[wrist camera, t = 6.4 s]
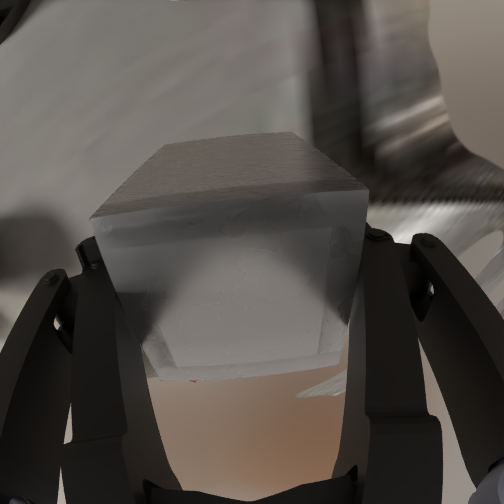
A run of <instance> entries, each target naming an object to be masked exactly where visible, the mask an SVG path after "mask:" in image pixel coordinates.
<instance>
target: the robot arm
mask: <svg viewBox="0 0 504 504" xmlns="http://www.w3.org/2000/svg"><path fill="white" fill-rule="evenodd" d="M29 2H30V0H0V43H1V42H2V41H3V40H4V39H5V38H6V37H7V35H8V34H9V33H10V32H11V30H12V29H13V28H14V26H15V25H16V24H17V22H18V21H19V19H20V18H21V16H22V14H23V13H24V11H25V9H26V8H27V6H28V4H29ZM75 250H76V253H77V255H78V258H79V260H80V263H81V265H82V267H83V270H82V274H80V275H77V276H74V277H70V278H68V276H67V274H66V272H65V270H63V269H56V270H51V271H49V272H47V273H46V275H44V276H43V277H42V278H41V279H40V281H39V282H38V284H37V285H36V287H35V289H34V290H33V292H32V294H31V295H30V297H29V299H28V300H27V302H26V304H25V306H24V307H23V309H22V311H21V313H20V315H19V316H18V318H17V320H16V322H15V324H14V326H13V328H12V330H11V332H10V334H9V336H8V338H7V340H6V342H5V344H4V346H3V348H2V350H1V353H0V504H57V500H58V490H59V477H60V468H61V471H62V480H63V487H64V493H65V499H66V504H441V503H442V502H441V501H442V485H443V446H442V445H443V443H442V430H441V424H440V421H439V420H438V418H437V417H436V416H433V415H430V414H429V413H428V411H427V404H426V394H425V384H424V375H423V368H422V361H421V355H420V348H419V342H418V339H419V341H420V343H421V345H422V347H423V350H424V352H425V354H426V356H427V359H428V361H429V363H430V366H431V368H432V371H433V373H434V375H435V378H436V380H437V383H438V385H439V388H440V391H441V393H442V396H443V399H444V401H445V404H446V407H447V410H448V412H449V415H450V418H451V421H452V424H453V427H454V430H455V433H456V437H457V440H458V443H459V447H460V450H461V454H462V457H463V460H464V463H465V466H466V469H467V471H468V473H469V475H470V478H471V480H472V482H473V484H474V485H475V487H476V489H477V490H476V492H475V493H473V494H472V496H471V497H470V499H469V502H468V504H504V319H503V318H502V316H501V315H500V313H499V312H498V311H497V309H496V308H495V306H494V305H493V304H492V302H491V301H490V300H489V298H488V297H487V295H486V294H485V293H484V291H483V290H482V289H481V287H480V286H479V285H478V284H477V282H476V281H475V280H474V279H473V277H472V276H471V275H470V274H469V272H468V271H467V270H466V269H465V267H464V266H463V265H462V264H461V263H460V262H459V260H458V259H457V258H456V257H455V256H454V255H453V253H452V252H451V251H450V250H449V249H448V248H447V247H446V246H445V245H444V243H443V242H442V241H441V240H439V239H438V238H437V237H435V236H433V235H431V234H428V233H418V234H415V235H413V238H412V242H411V244H402V243H395V242H394V240H393V238H392V236H391V235H390V234H389V233H387V232H386V231H383V230H380V229H375V228H371V227H370V225H369V224H368V223H367V222H366V225H365V233H364V240H363V247H362V254H361V260H360V266H359V272H358V277H357V283H356V288H355V294H354V299H353V304H352V308H351V313H350V324H349V326H350V327H349V354H348V370H347V384H346V396H345V407H344V416H343V424H342V433H341V440H340V447H339V453H338V457H337V460H336V463H335V466H334V470H333V474H332V478H331V479H328V480H323V481H319V482H314V483H308V484H302V485H299V486H297V487H294V488H292V489H289V490H287V491H283V492H281V493H278V494H275V495H272V496H269V497H266V498H262V499H259V500H256V501H251V502H250V501H248V502H247V501H240V500H235V499H230V498H225V497H220V496H215V495H211V494H207V493H203V492H199V491H183V490H182V487H181V485H180V483H179V481H178V479H177V478H176V476H175V474H174V473H173V471H172V470H171V467H170V465H169V463H168V460H167V457H166V453H165V450H164V446H163V443H162V440H161V436H160V433H159V429H158V425H157V422H156V418H155V415H154V410H153V406H152V402H151V398H150V394H149V389H148V384H147V379H146V374H145V369H144V364H143V359H142V353H141V348H140V342H139V340H138V338H137V336H136V334H135V332H134V330H133V328H132V326H131V324H130V321H129V319H128V317H127V315H126V313H125V311H124V309H123V306H122V304H121V302H120V300H119V297H118V295H117V293H116V290H115V288H114V286H113V283H112V281H111V278H110V276H109V273H108V271H107V268H106V266H105V263H104V260H103V258H102V255H101V252H100V250H99V247H98V244H97V241H96V238H95V236H92V237H90V238H87V239H85V240H84V241H82V242H81V243H80V244H78V245H77V247H76V249H75ZM432 285H433V288H434V294H432V292H431V291H430V289H431V286H432ZM55 318H56V320H57V322H58V323H59V325H60V326H59V329H58V330H57V329H56V328H55V326H54V319H55ZM70 404H71V412H72V413H71V414H72V433H73V436H72V440H71V442H69V443H67V444H64V437H65V430H66V425H67V419H68V414H69V409H70Z"/></svg>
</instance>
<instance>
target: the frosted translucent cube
mask: <svg viewBox="0 0 504 504" xmlns="http://www.w3.org/2000/svg"><path fill="white" fill-rule="evenodd" d="M368 199H369V189H368V188H366V187H365V186H364V185H363V184H362V183H360V182H359V181H358V180H357V179H355V178H354V177H353V176H352V175H350V174H349V173H348V172H347V171H345V170H344V169H343V168H341V167H340V166H339V165H337V164H336V163H335V162H333V161H332V160H331V159H329V158H328V157H327V156H325V155H324V154H323V153H321V152H320V151H319V150H317V149H316V148H314V147H313V146H312V145H310V144H309V143H307V142H306V141H304V140H303V139H302V138H300V137H299V136H297V135H296V134H294V133H293V132H278V133H261V134H248V135H236V136H226V137H217V138H209V139H201V140H193V141H186V142H180V143H173V144H167V145H164V146H163V147H162V148H161V149H159V150H158V151H157V152H156V153H155V154H154V155H153V156H152V157H150V158H149V159H148V160H147V161H146V162H145V163H144V164H143V165H142V166H141V167H139V168H138V169H137V170H136V171H135V172H134V173H133V174H132V175H131V176H130V177H129V178H128V179H127V180H126V181H125V182H124V183H123V184H122V185H121V186H120V187H119V188H118V189H117V190H116V191H115V192H114V193H113V194H112V195H111V196H110V197H109V198H108V199H107V200H106V201H105V202H104V203H103V204H102V205H101V206H100V208H99V209H98V210H97V211H96V212H95V213H94V214H93V215H92V216H91V217H90V218H89V220H90V223H91V226H92V229H93V232H94V235H95V238H96V241H97V244H98V247H99V250H100V252H101V255H102V258H103V260H104V263H105V266H106V268H107V271H108V273H109V276H110V278H111V281H112V283H113V286H114V288H115V290H116V293H117V295H118V297H119V300H120V302H121V304H122V306H123V309H124V311H125V313H126V315H127V317H128V319H129V321H130V324H131V326H132V328H133V330H134V332H135V334H136V336H137V338H138V340H139V342H140V344H141V346H142V348H143V350H144V352H145V353H146V355H147V357H148V359H149V361H150V363H151V365H152V366H153V368H154V370H155V372H156V374H157V375H158V377H159V379H160V380H161V381H185V380H212V379H230V378H243V377H254V376H262V375H272V374H280V373H287V372H295V371H302V370H308V369H315V368H321V367H326V366H331V365H337V364H338V363H339V359H340V355H341V351H342V347H343V343H344V339H345V335H346V331H347V326H348V322H349V318H350V313H351V308H352V304H353V299H354V294H355V288H356V283H357V277H358V272H359V266H360V260H361V254H362V247H363V240H364V233H365V225H366V217H367V208H368Z"/></svg>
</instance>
